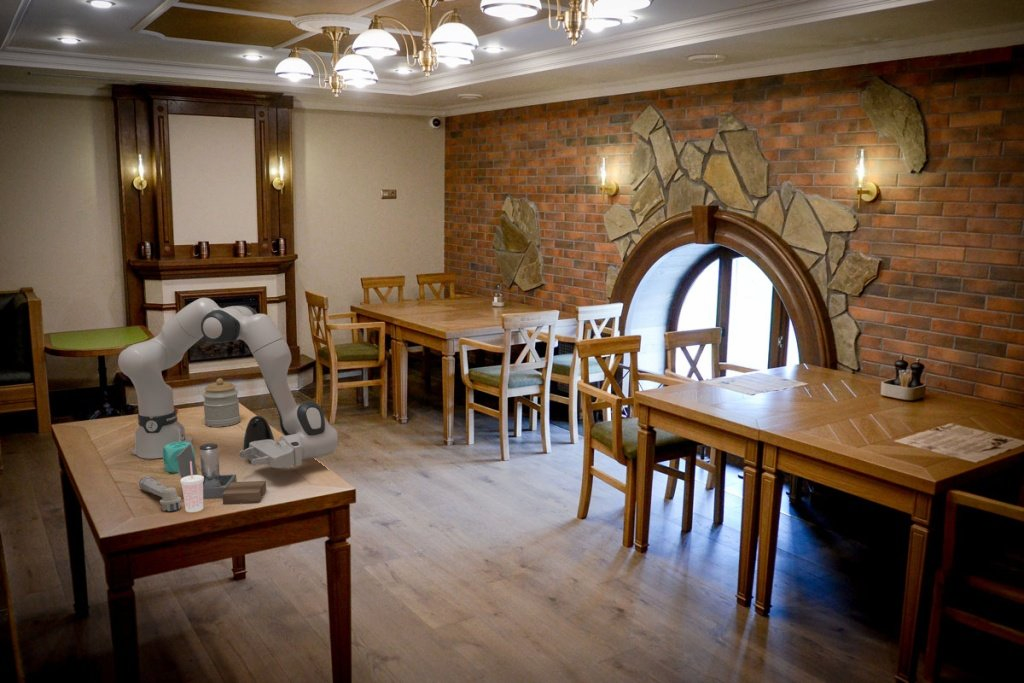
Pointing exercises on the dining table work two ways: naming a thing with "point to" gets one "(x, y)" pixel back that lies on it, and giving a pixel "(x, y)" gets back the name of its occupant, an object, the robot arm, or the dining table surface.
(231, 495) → the walnut block
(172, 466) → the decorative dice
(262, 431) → the black egg-shaped speaker
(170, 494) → the grey flashlight
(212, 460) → the steel canister
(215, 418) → the jar
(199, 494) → the beverage cup
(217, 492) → the equipment case
